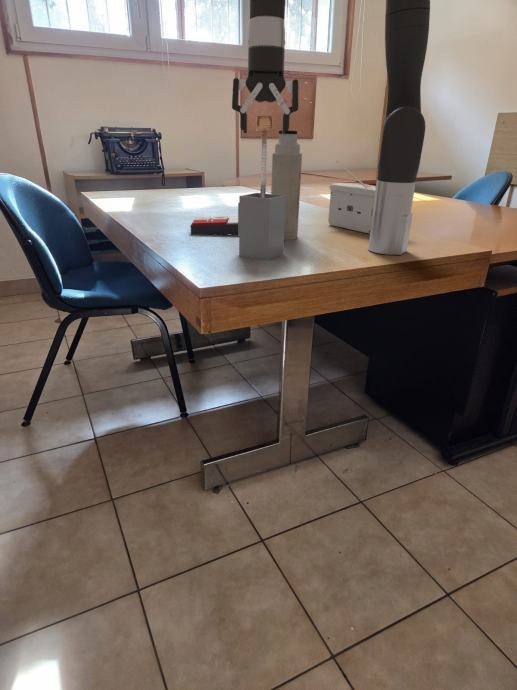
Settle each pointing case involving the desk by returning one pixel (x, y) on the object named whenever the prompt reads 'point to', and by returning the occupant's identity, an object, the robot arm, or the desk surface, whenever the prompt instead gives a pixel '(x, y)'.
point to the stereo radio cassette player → (351, 205)
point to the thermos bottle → (288, 178)
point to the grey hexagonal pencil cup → (261, 225)
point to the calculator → (215, 225)
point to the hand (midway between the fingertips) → (264, 133)
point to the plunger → (264, 147)
